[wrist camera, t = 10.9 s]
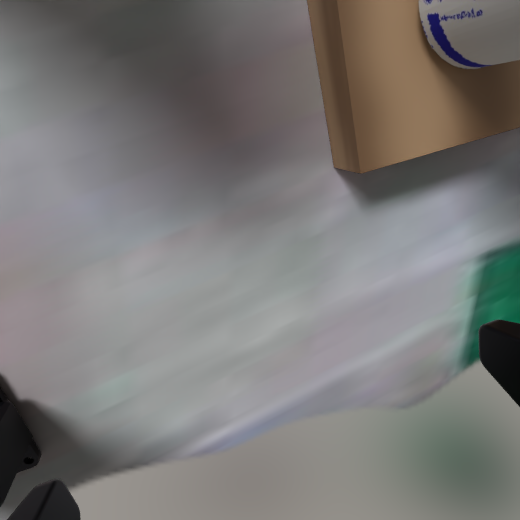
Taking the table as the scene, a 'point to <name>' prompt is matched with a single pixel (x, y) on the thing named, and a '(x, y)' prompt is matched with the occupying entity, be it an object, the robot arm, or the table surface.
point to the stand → (400, 86)
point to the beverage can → (472, 31)
